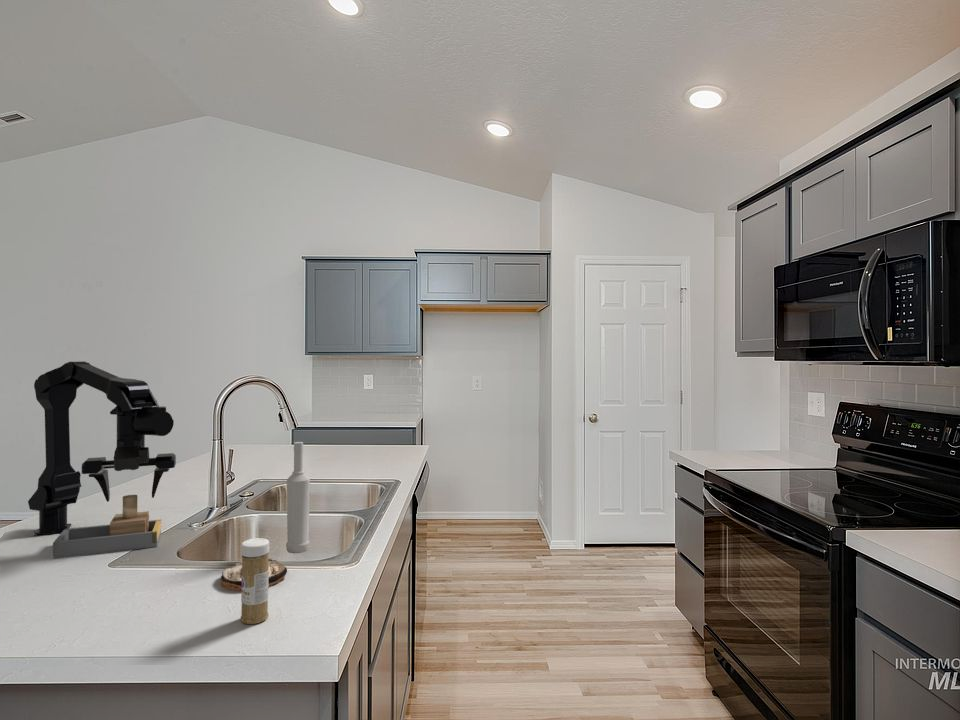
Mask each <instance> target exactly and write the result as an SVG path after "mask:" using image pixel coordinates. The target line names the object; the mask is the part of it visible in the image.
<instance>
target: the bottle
mask: <svg viewBox="0 0 960 720" xmlns="http://www.w3.org/2000/svg"><path fill="white" fill-rule="evenodd" d="M293 459H294V460H293V470H292V473H291V474H290V476H288V478H286V513H287V514H286V518H287V519H286V520H287V521H286V525H287V527H286V530H287V532H286V534H287V537H286V539H287V541H286V544H285V545H286V546H285V547H286V551H287V552H288V553H289V554H302V553H305V552H307V551H309V548H310V540H309V527H310V526H309V525H310V524H309V523H310V489H311V487H310V486H311V485H310V484H311V478H310V477H309V476H308V475H307V474H306V473H305V471H304V441H295V442H293Z"/></svg>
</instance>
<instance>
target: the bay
mask: <svg viewBox="0 0 960 720" xmlns="http://www.w3.org/2000/svg"><path fill="white" fill-rule="evenodd" d="M161 535H162V519H154V520H152V519H151V520H149V532H140V533H131V534H121V535H111V536H110V523H109V524H102V525H101V524H99V525H92V526H91V525H90V526H79V527H70V528H68V529H64V531H63V532H61V533H59V535H58V537H56V539H55V540H54V541H53V542H52V559H61V558H70V557H80V556H89V555H96V554H104V553H106V554H107V553H113V552H114V553H115V552H122V551H131V550H132V551H133V550H139V549H140V550H141V549H142V550H143V549H151V548H157V547H158V543H159V542H160V538H161Z"/></svg>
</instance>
